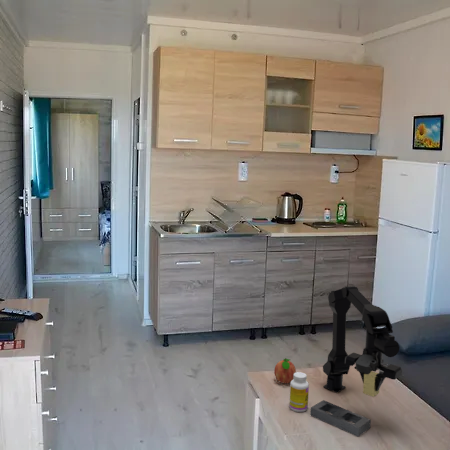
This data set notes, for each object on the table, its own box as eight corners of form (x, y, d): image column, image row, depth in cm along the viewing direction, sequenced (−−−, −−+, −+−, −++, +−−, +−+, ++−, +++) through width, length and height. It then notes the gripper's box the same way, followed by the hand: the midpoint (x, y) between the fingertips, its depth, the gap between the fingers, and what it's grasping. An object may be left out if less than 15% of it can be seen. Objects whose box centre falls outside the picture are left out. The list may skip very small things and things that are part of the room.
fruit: (271, 384, 210) (272, 360, 208) (277, 375, 219) (278, 352, 217) (292, 388, 207) (293, 364, 206) (297, 378, 216) (298, 355, 214)
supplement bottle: (307, 413, 188) (308, 379, 186) (288, 411, 189) (290, 377, 187) (308, 405, 194) (309, 371, 192) (290, 402, 195) (291, 370, 193)
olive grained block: (368, 389, 185) (369, 370, 184) (379, 393, 183) (380, 374, 182) (362, 393, 183) (364, 373, 182) (373, 396, 180) (374, 377, 179)
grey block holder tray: (323, 407, 192) (323, 400, 192) (370, 427, 179) (370, 419, 179) (310, 415, 186) (310, 407, 186) (358, 436, 173) (358, 428, 173)
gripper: (337, 344, 181) (335, 387, 183) (389, 360, 168) (385, 406, 170) (354, 336, 189) (351, 377, 191) (404, 351, 176) (400, 395, 178)
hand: (371, 388), depth 182 cm, fingers closed on olive grained block, 4 cm apart
